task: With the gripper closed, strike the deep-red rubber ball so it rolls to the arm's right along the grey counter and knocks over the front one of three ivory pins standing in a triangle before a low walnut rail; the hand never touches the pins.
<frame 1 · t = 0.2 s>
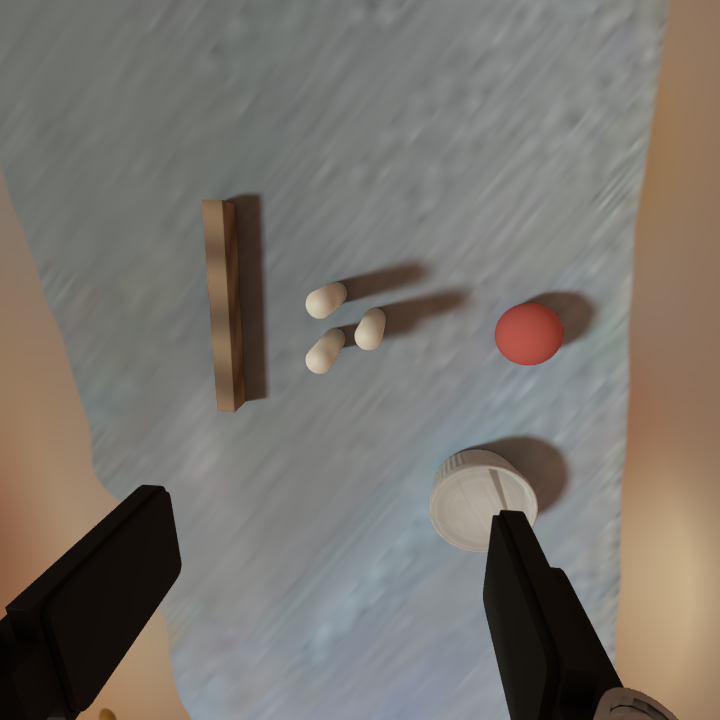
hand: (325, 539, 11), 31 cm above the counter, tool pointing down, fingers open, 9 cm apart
walnut rail: (232, 310, 41), on the counter
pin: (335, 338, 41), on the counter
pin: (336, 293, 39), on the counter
ramekin: (473, 480, 45), on the counter
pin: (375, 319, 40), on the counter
ball: (527, 334, 36), on the counter
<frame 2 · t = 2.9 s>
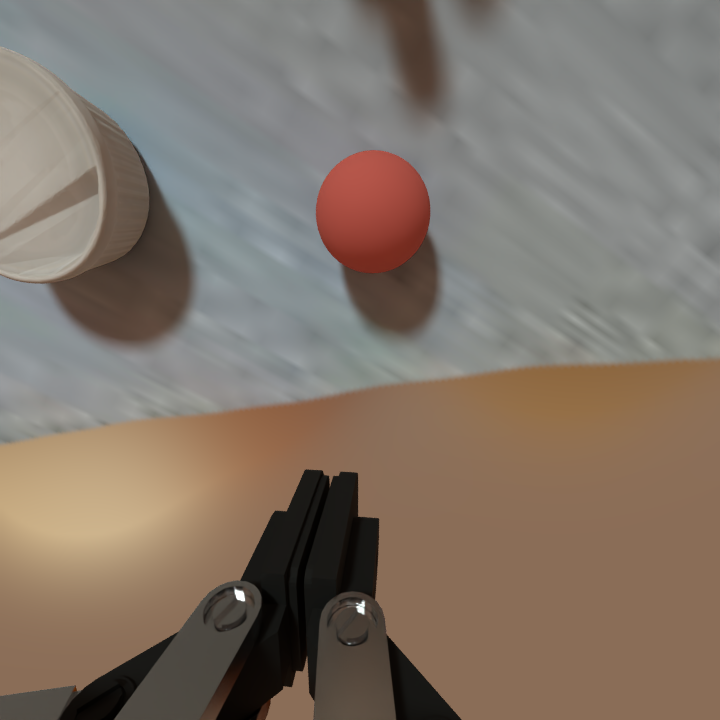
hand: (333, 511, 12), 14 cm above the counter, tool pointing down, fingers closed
ramekin: (89, 189, 24), on the counter
ball: (372, 215, 20), on the counter
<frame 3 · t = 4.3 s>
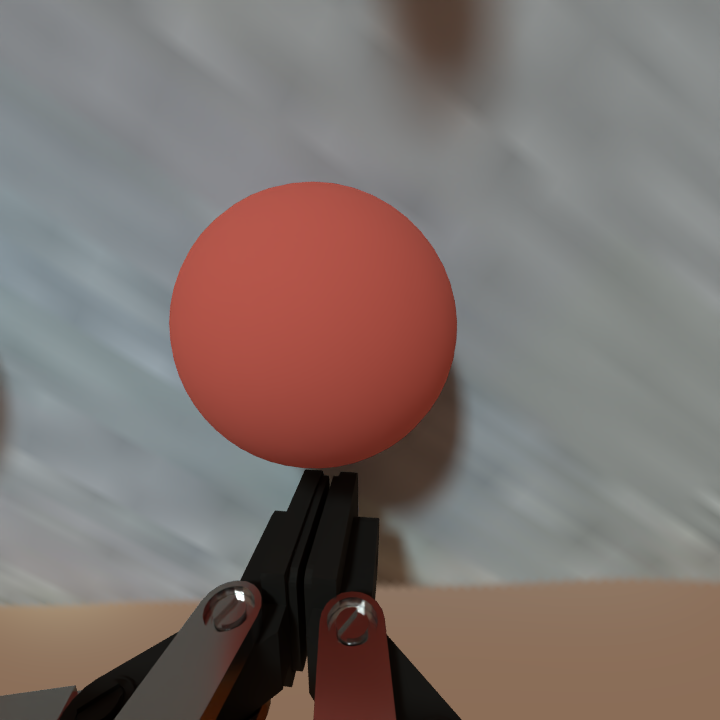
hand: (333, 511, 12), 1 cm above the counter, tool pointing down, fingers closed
ball: (319, 329, 8), on the counter
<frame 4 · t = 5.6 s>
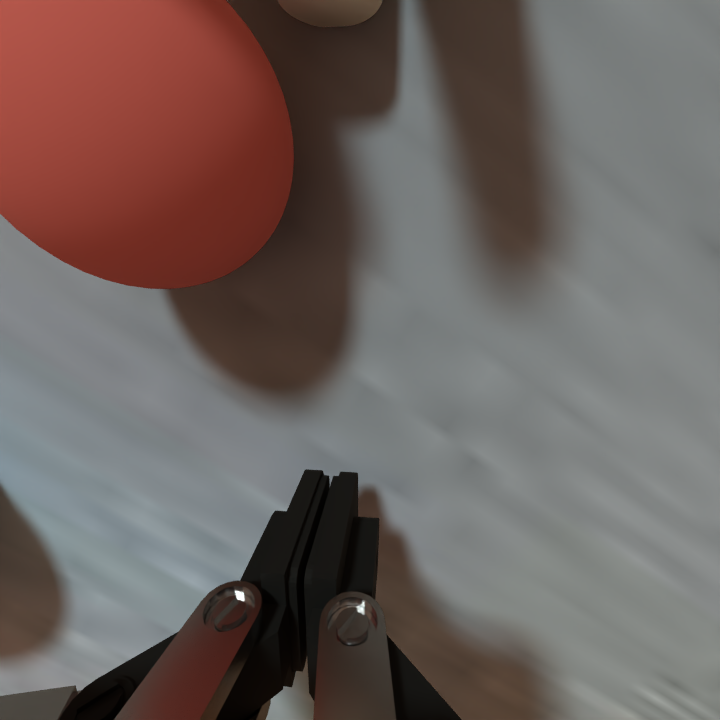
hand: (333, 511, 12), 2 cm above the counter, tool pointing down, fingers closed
ball: (148, 143, 8), on the counter
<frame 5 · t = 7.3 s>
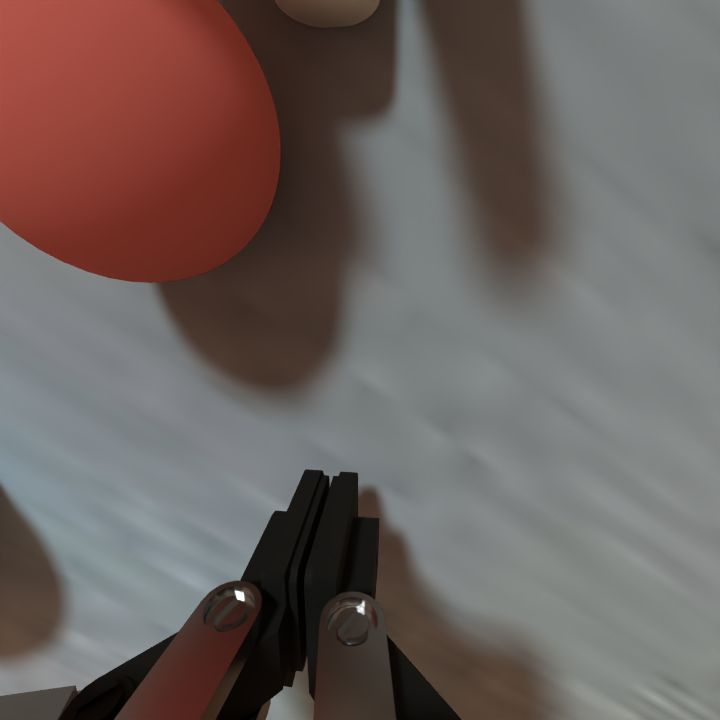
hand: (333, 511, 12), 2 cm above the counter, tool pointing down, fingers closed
ball: (134, 135, 8), on the counter
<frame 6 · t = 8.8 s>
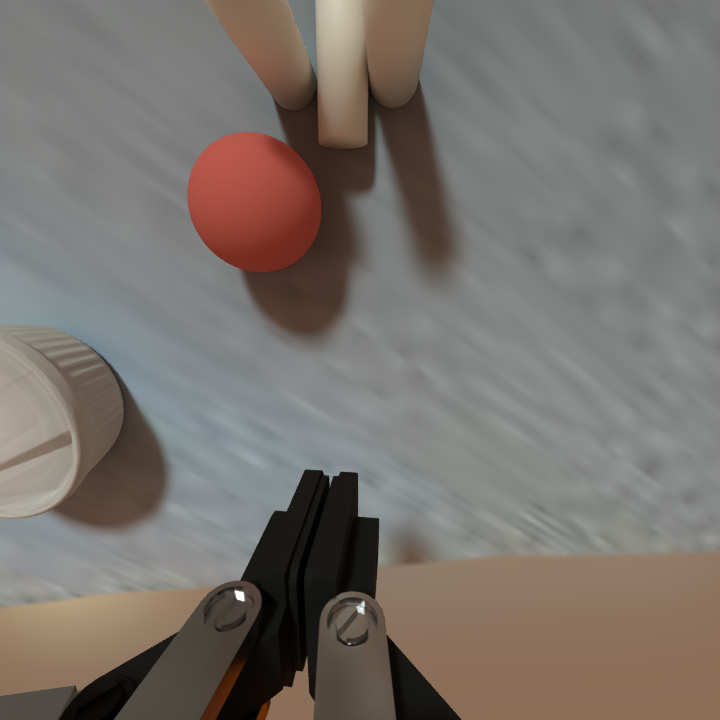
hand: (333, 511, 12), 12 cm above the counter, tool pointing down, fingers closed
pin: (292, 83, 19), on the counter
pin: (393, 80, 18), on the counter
ramekin: (62, 394, 25), on the counter
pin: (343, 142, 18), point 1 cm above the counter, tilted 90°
ball: (257, 206, 17), on the counter
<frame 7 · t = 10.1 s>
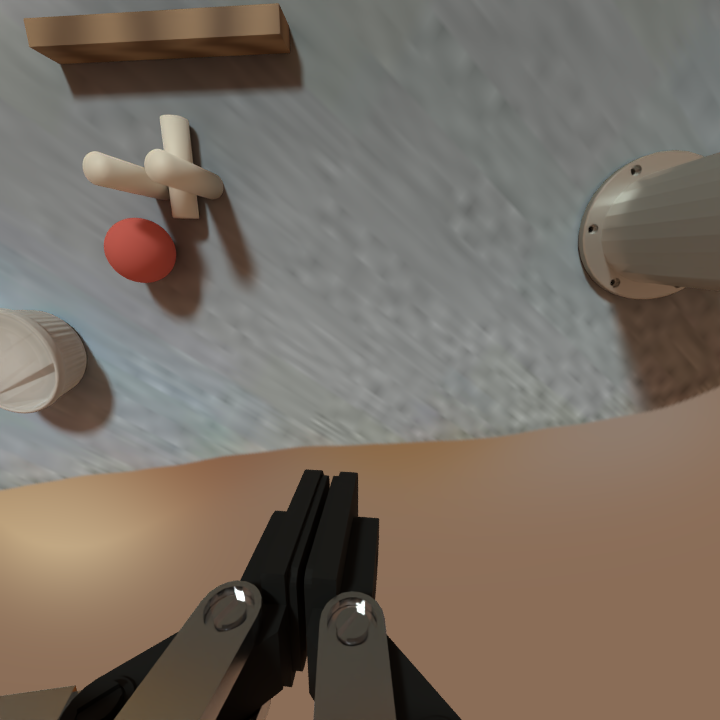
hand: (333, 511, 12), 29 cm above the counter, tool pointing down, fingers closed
walnut rail: (170, 45, 33), on the counter
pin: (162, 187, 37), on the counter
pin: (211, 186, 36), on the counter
ramekin: (53, 350, 43), on the counter
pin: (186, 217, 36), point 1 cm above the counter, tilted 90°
ball: (141, 251, 36), on the counter
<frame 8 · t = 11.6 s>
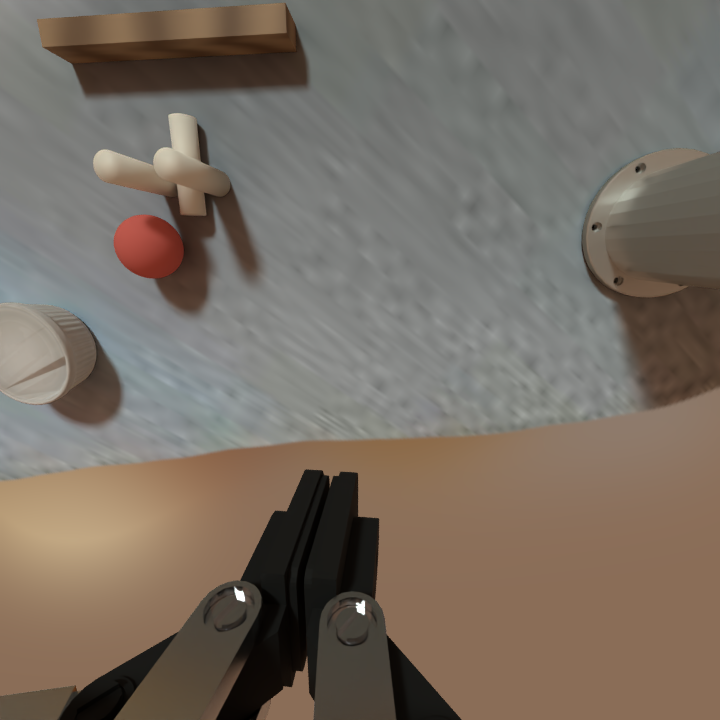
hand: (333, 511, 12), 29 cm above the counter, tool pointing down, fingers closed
walnut rail: (178, 44, 34), on the counter
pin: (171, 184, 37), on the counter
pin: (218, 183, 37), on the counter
ramekin: (64, 344, 44), on the counter
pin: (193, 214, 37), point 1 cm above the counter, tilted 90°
ball: (150, 247, 37), on the counter
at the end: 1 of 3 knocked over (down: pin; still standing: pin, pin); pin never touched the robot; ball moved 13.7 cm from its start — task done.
